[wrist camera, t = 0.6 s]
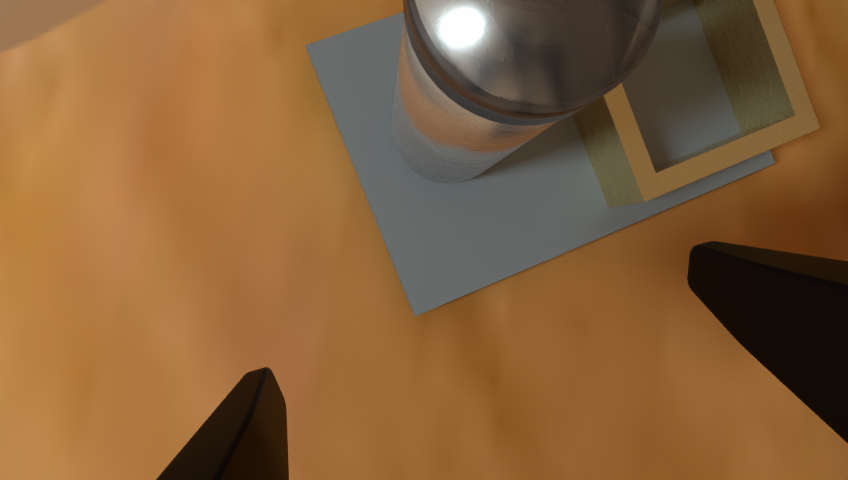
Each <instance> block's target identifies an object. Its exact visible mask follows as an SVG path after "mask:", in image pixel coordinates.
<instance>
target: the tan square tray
mask: <svg viewBox="0 0 848 480" xmlns="http://www.w3.org/2000/svg"><path fill="white" fill-rule="evenodd" d="M686 1H689V0H663V6H662V10H664V9H667V8H670V7H672V6H675V5H678V4H680V3H683V2H686ZM692 2H693V5H694V7H695V10H696V13H697V15H698V18H699V21H700V23H701V26H702V29H703V31H704V34H705V37H706V39H707V42H708V45H709V47H710V50H711V53H712V55H713V58H714V61H715V63H716V66H717V69H718V71H719V74H720V77H721V79H722V82H723V85H724V87H725V90H726V93H727V95H728V98H729V101H730V104H731V106H732V109H733V112H734V114H735V117H736V120H737V122H738V125H739V128H740V130H741V133H738V134H736V135H733V136H731V137H728V138H726V139H724V140H721V141H719V142H716V143H714V144H711V145H709V146H707V147H704V148H702V149H699V150H697V151H694V152H692V153H690V154H687V155H685V156H682V157H680V158H677V159H675V160H672V161H670V162H668V163H665V164H663V165H660V166H658V167H655V168H654V167H653V164H652V162H651V159H650V156H649V154H648V151H647V149H646V146H645V143H644V141H643V138H642V135H641V133H640V130H639V128H638V125H637V122H636V120H635V117H634V115H633V112H632V109H631V107H630V104H629V101H628V99H627V96H626V94H625V91H624V88H623V86H622V83H620V84H619V85H618V86H617V87H616V88H614V89H613V90H611V91H610V92H608V93H607V94H605V95H603V96H602V97H600V98H599V99H597V100H596V101H594V102H593V103H591V104H590V105H588V106H587V107H585V108H584V109H582V110H581V111H579V112H577V113H575V114H573V118H574V120H575V123H576V125H577V128H578V130H579V133H580V136H581V138H582V141H583V143H584V146H585V149H586V151H587V154H588V156H589V159H590V162H591V164H592V167H593V169H594V172H595V174H596V177H597V180H598V182H599V185H600V187H601V190H602V193H603V195H604V198H605V200H606V203H607V206H608V208H611V207H617V206H623V205H630V204H636V203H642V202H646V201H648V200H651V199H653V198H656V197H658V196H660V195H663V194H665V193H667V192H670V191H672V190H675V189H677V188H679V187H682V186H684V185H686V184H689V183H691V182H694V181H696V180H698V179H701V178H703V177H706V176H708V175H710V174H713V173H715V172H717V171H720V170H722V169H725V168H727V167H729V166H732V165H734V164H736V163H739V162H741V161H744V160H746V159H748V158H751V157H753V156H756V155H758V154H760V153H763V152H765V151H767V150H770V149H772V148H775V147H777V146H779V145H782V144H784V143H786V142H789V141H791V140H794V139H796V138H798V137H801V136H803V135H806V134H808V133H810V132H813V131H815V130H817V129H820V125H819V123H818V120H817V117H816V115H815V112H814V109H813V106H812V104H811V101H810V98H809V96H808V93H807V90H806V87H805V85H804V82H803V79H802V77H801V74H800V71H799V68H798V66H797V63H796V60H795V57H794V55H793V52H792V49H791V47H790V44H789V41H788V38H787V36H786V33H785V30H784V28H783V25H782V22H781V19H780V17H779V14H778V11H777V9H776V6H775V3H774V0H692Z"/></svg>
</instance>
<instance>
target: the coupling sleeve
mask: <svg viewBox="0 0 848 480" xmlns="http://www.w3.org/2000/svg"><path fill="white" fill-rule="evenodd" d="M662 6H663V0H403V8H404V24H403V32H402V40H401V48H400V56H399V64H398V72H397V80H396V88H395V96H394V104H393V112H392V122H391V128H392V136H393V141H394V144H395V147H396V149H397V151H398V153H399V155H400V156H401V158H402V159H403V161H404V162H405V163H406V164H407V166H408V167H410V168H411V169H412V170H413V171H414V172H416V173H417V174H418V175H420V176H422V177H424V178H426V179H428V180H431V181H434V182H438V183H446V184H451V183H460V182H464V181H467V180H470V179H472V178H474V177H476V176H478V175H479V174H481V173H482V172H484V171H485V170H487V169H488V168H490V167H491V166H493V165H494V164H496V163H497V162H498V161H500V160H501V159H503V158H504V157H506V156H507V155H509V154H510V153H512V152H513V151H515V150H516V149H518V148H519V147H521V146H522V145H524V144H525V143H526V142H528V141H529V140H531V139H532V138H534V137H535V136H537V135H538V134H540V133H541V132H543V131H544V130H546V129H547V128H549V127H550V126H552V125H553V124H555V123H556V122H557V121H559V120H562V119H565V118H567V117H569V116H571V115H573V114H575V113H577V112H579V111H581V110H582V109H584V108H585V107H587V106H588V105H590V104H591V103H593V102H594V101H596V100H597V99H599V98H600V97H602V96H603V95H605V94H607V93H608V92H610V91H611V90H613V89H614V88H616V87H617V86H618V85H619V84H620V83H621V82H623V81H624V80H625V79H626V78H627V77H628V76H629V75H630V74H631V73H632V72H633V71H634V69H635V68H636V67H637V66H638V65H639V63H640V62H641V60H642V59H643V57H644V56H645V54H646V53H647V51H648V49H649V47H650V45H651V43H652V41H653V39H654V37H655V34H656V31H657V28H658V25H659V22H660V17H661V12H662Z"/></svg>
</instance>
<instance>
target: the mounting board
mask: <svg viewBox="0 0 848 480" xmlns="http://www.w3.org/2000/svg"><path fill="white" fill-rule="evenodd" d="M403 24H404V12H402V13H399V14H396V15H393V16H390V17H387V18H384V19H381V20H378V21H375V22H372V23H370V24H367V25H364V26H361V27H358V28H355V29H352V30H349V31H346V32H343V33H340V34H337V35H334V36H332V37H329V38H326V39H323V40H320V41H317V42H314V43H311V44H308V45H306V48H307V51H308V54H309V57H310V59H311V62H312V64H313V67H314V69H315V72H316V74H317V77H318V79H319V81H320V84H321V86H322V89H323V91H324V94H325V96H326V99H327V101H328V104H329V106H330V109H331V111H332V114H333V116H334V119H335V121H336V123H337V126H338V128H339V131H340V133H341V136H342V138H343V141H344V143H345V146H346V148H347V151H348V153H349V156H350V158H351V161H352V163H353V165H354V168H355V170H356V173H357V175H358V178H359V180H360V183H361V185H362V188H363V190H364V193H365V195H366V198H367V200H368V203H369V205H370V207H371V210H372V212H373V215H374V217H375V220H376V222H377V225H378V227H379V230H380V232H381V235H382V237H383V240H384V242H385V245H386V247H387V250H388V252H389V254H390V257H391V259H392V262H393V264H394V267H395V269H396V272H397V274H398V277H399V279H400V282H401V284H402V287H403V289H404V292H405V294H406V296H407V299H408V301H409V304H410V306H411V309H412V311H413V313H414V315H415V316H417V315H419V314H422V313H424V312H426V311H429V310H431V309H433V308H436V307H438V306H441V305H443V304H445V303H448V302H450V301H452V300H455V299H457V298H459V297H462V296H464V295H466V294H469V293H471V292H474V291H476V290H478V289H481V288H483V287H485V286H488V285H490V284H492V283H495V282H497V281H499V280H502V279H504V278H506V277H509V276H511V275H514V274H516V273H518V272H521V271H523V270H525V269H528V268H530V267H532V266H535V265H537V264H539V263H542V262H544V261H546V260H549V259H551V258H554V257H556V256H558V255H561V254H563V253H565V252H568V251H570V250H572V249H575V248H577V247H579V246H582V245H584V244H587V243H589V242H591V241H594V240H596V239H598V238H601V237H603V236H605V235H608V234H610V233H612V232H615V231H617V230H619V229H622V228H624V227H627V226H629V225H631V224H634V223H636V222H638V221H641V220H643V219H645V218H648V217H650V216H652V215H655V214H657V213H660V212H662V211H664V210H667V209H669V208H671V207H674V206H676V205H678V204H681V203H683V202H685V201H688V200H690V199H692V198H695V197H697V196H700V195H702V194H704V193H707V192H709V191H711V190H714V189H716V188H718V187H721V186H723V185H725V184H728V183H730V182H732V181H735V180H737V179H740V178H742V177H744V176H747V175H749V174H751V173H754V172H756V171H758V170H761V169H763V168H765V167H768V166H770V165H773V164H775V161H774V158H773V155H772V153H771V150H767V151H765V152H763V153H760V154H758V155H756V156H753V157H751V158H748V159H746V160H744V161H741V162H739V163H736V164H734V165H732V166H729V167H727V168H725V169H722V170H720V171H717V172H715V173H713V174H710V175H708V176H706V177H703V178H701V179H698V180H696V181H694V182H691V183H689V184H686V185H684V186H682V187H679V188H677V189H675V190H672V191H670V192H667V193H665V194H663V195H660V196H658V197H656V198H653V199H651V200H648V201H646V202H642V203H636V204H630V205H623V206H617V207H611V208H608V206H607V203H606V200H605V198H604V195H603V193H602V190H601V187H600V185H599V182H598V180H597V177H596V174H595V172H594V169H593V167H592V164H591V162H590V159H589V156H588V154H587V151H586V149H585V146H584V143H583V141H582V138H581V136H580V133H579V130H578V128H577V125H576V123H575V120H574V118H573V115H571V116H569V117H567V118H565V119H562V120H559V121H557V122H556V123H555V124H553V125H552V126H550V127H549V128H547V129H546V130H544V131H543V132H541V133H540V134H538V135H537V136H535V137H534V138H532V139H531V140H529V141H528V142H526V143H525V144H524V145H522V146H521V147H519V148H518V149H516V150H515V151H513V152H512V153H510V154H509V155H507V156H506V157H504V158H503V159H501V160H500V161H498V162H497V163H496V164H494V165H493V166H491V167H490V168H488V169H487V170H485V171H484V172H482V173H481V174H479V175H478V176H476V177H474V178H472V179H470V180H467V181H464V182H460V183H451V184H446V183H438V182H434V181H431V180H428V179H426V178H424V177H422V176H420V175H418V174H417V173H416V172H414V171H413V170H412V169H411V168H410V167H408V166H407V164H406V163H405V162H404V161H403V159H402V158H401V156H400V155H399V153H398V151H397V149H396V147H395V144H394V141H393V136H392V128H391V122H392V112H393V104H394V96H395V88H396V80H397V72H398V64H399V56H400V48H401V40H402V32H403ZM621 83H622V86H623V88H624V91H625V94H626V96H627V99H628V101H629V104H630V107H631V109H632V112H633V115H634V117H635V120H636V122H637V125H638V128H639V130H640V133H641V135H642V138H643V141H644V143H645V146H646V149H647V151H648V154H649V156H650V159H651V162H652V164H653V167H654V168H655V167H658V166H660V165H663V164H665V163H668V162H670V161H672V160H675V159H677V158H680V157H682V156H685V155H687V154H690V153H692V152H694V151H697V150H699V149H702V148H704V147H707V146H709V145H711V144H714V143H716V142H719V141H721V140H724V139H726V138H728V137H731V136H733V135H736V134H738V133H741V130H740V128H739V125H738V122H737V120H736V117H735V114H734V112H733V109H732V106H731V104H730V101H729V98H728V95H727V93H726V90H725V87H724V85H723V82H722V79H721V77H720V74H719V71H718V69H717V66H716V63H715V61H714V58H713V55H712V53H711V50H710V47H709V45H708V42H707V39H706V37H705V34H704V31H703V29H702V26H701V23H700V21H699V18H698V15H697V13H696V10H695V7H694V5H693V2H692V0H689V1H686V2H683V3H680V4H678V5H675V6H672V7H670V8H667V9H664V10H662V12H661V17H660V22H659V25H658V28H657V31H656V34H655V37H654V39H653V41H652V43H651V45H650V47H649V49H648V51H647V53H646V54H645V56H644V57H643V59H642V60H641V62H640V63H639V65H638V66H637V67H636V68H635V69H634V71H633V72H632V73H631V74H630V75H629V76H628V77H627V78H626V79H625V80H624V81H623V82H621Z"/></svg>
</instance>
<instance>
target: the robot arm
mask: <svg viewBox="0 0 848 480" xmlns="http://www.w3.org/2000/svg"><path fill="white" fill-rule="evenodd" d="M687 280H688V284H689V287H690V288H691V290H692V291H693V292H694V293H695V295H696V296H697V297H698V298H699V299H700V300H701V301H702V302H703V303H704V304H705V306H706V307H707V308H708V309H709V310H710V311H711V312H712V313H713V314H714V316H715V317H716V318H717V319H718V320H719V321H720V322H721V323H722V324H723V326H724V327H725V328H726V329H727V330H728V331H729V332H730V333H731V334H732V335H733V337H734V338H735V339H736V340H737V341H738V342H739V343H740V344H741V345H742V346H743V347H744V348H745V349H746V350H747V351H748V352H749V353H750V354H751V355H753V356H754V357H755V358H756V359H757V360H758V361H759V362H760V363H761V364H762V365H763V366H764V367H766V368H767V369H768V370H769V371H770V372H771V373H772V374H773V375H774V376H775V377H776V378H777V379H779V380H780V381H781V382H782V383H783V384H784V385H785V386H786V387H787V388H788V389H789V390H790V391H792V392H793V393H794V394H795V395H796V396H797V397H798V398H799V399H800V400H801V401H802V402H803V403H805V404H806V405H807V406H808V407H809V408H810V409H811V410H812V411H813V412H814V413H815V414H816V415H818V416H819V417H820V418H821V419H822V420H823V421H824V422H825V423H826V424H827V425H828V426H829V427H831V428H832V429H833V430H834V431H835V432H836V433H837V434H838V435H839V436H840V437H841V438H842V439H844V440H845V441H846V442H847V443H848V261H842V260H835V259H828V258H822V257H815V256H808V255H802V254H795V253H789V252H782V251H775V250H769V249H762V248H756V247H749V246H742V245H736V244H729V243H723V242H716V241H710V242H706V243H702V244H699V245H696V246H694V247H693V248H692V249H691V251H690V257H689V266H688V276H687ZM156 480H289V469H288V442H287V414H286V404H285V400H284V397H283V395H282V392H281V390H280V388H279V386H278V383H277V381H276V379H275V377H274V374H273V372H272V371H271V369H270V368H267V367H264V368H261V369H257V370H254V371H250V372H248V373H246V374H245V375H244V376H243V377H242V379H241V380H240V381H239V382H238V383H237V385H236V386H235V387H234V388H233V389H232V390H231V392H230V393H229V394H228V395H227V396H226V398H225V399H224V400H223V401H222V402H221V403H220V405H219V406H218V407H217V408H216V409H215V411H214V412H213V413H212V414H211V415H210V416H209V418H208V419H207V420H206V421H205V422H204V424H203V425H202V426H201V427H200V428H199V429H198V431H197V432H196V433H195V434H194V435H193V437H192V438H191V439H190V440H189V441H188V442H187V444H186V445H185V446H184V447H183V448H182V450H181V451H180V452H179V453H178V454H177V455H176V457H175V458H174V459H173V460H172V461H171V463H170V464H169V465H168V466H167V467H166V468H165V470H164V471H163V472H162V473H161V474H160V476H159V477H158V478H157V479H156Z"/></svg>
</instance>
